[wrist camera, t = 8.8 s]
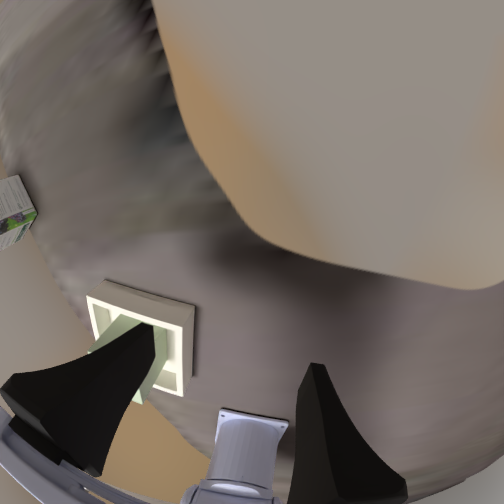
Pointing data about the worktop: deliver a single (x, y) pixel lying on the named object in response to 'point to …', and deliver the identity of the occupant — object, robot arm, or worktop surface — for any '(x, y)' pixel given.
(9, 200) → the syrup box
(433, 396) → the worktop surface
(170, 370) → the bin
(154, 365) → the block
